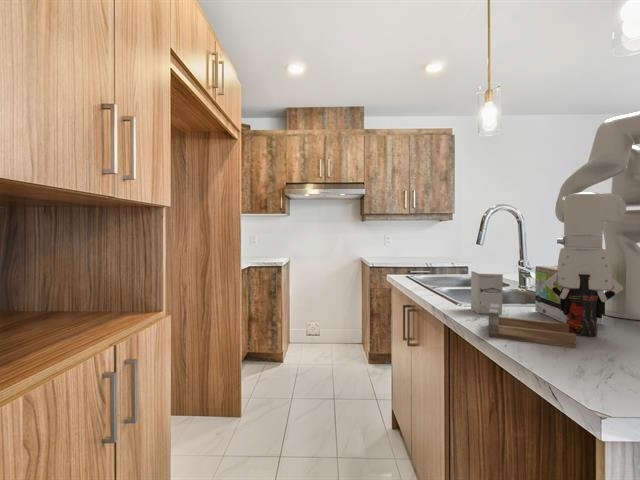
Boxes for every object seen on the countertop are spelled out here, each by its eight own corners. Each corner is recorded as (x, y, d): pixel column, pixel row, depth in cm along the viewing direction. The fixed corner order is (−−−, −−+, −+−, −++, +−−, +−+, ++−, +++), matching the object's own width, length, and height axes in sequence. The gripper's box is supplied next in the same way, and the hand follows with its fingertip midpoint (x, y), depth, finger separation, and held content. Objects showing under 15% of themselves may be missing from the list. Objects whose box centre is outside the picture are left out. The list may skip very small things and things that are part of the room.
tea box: (533, 311, 106) (534, 265, 106) (566, 312, 105) (567, 265, 105) (565, 324, 91) (566, 270, 91) (604, 325, 90) (605, 270, 90)
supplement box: (477, 314, 103) (477, 273, 103) (470, 308, 110) (470, 270, 110) (502, 315, 102) (503, 273, 101) (494, 309, 109) (494, 271, 109)
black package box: (603, 337, 80) (604, 274, 79) (577, 336, 80) (578, 274, 80) (585, 330, 86) (586, 271, 85) (561, 329, 86) (561, 271, 86)
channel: (490, 324, 91) (490, 303, 91) (567, 333, 83) (568, 310, 83) (488, 336, 81) (488, 312, 80) (576, 348, 72) (576, 321, 72)
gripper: (542, 243, 83) (541, 314, 84) (634, 244, 75) (632, 323, 75) (539, 242, 90) (539, 308, 90) (624, 243, 81) (622, 316, 82)
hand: (581, 314), depth 83 cm, fingers closed on black package box, 5 cm apart
